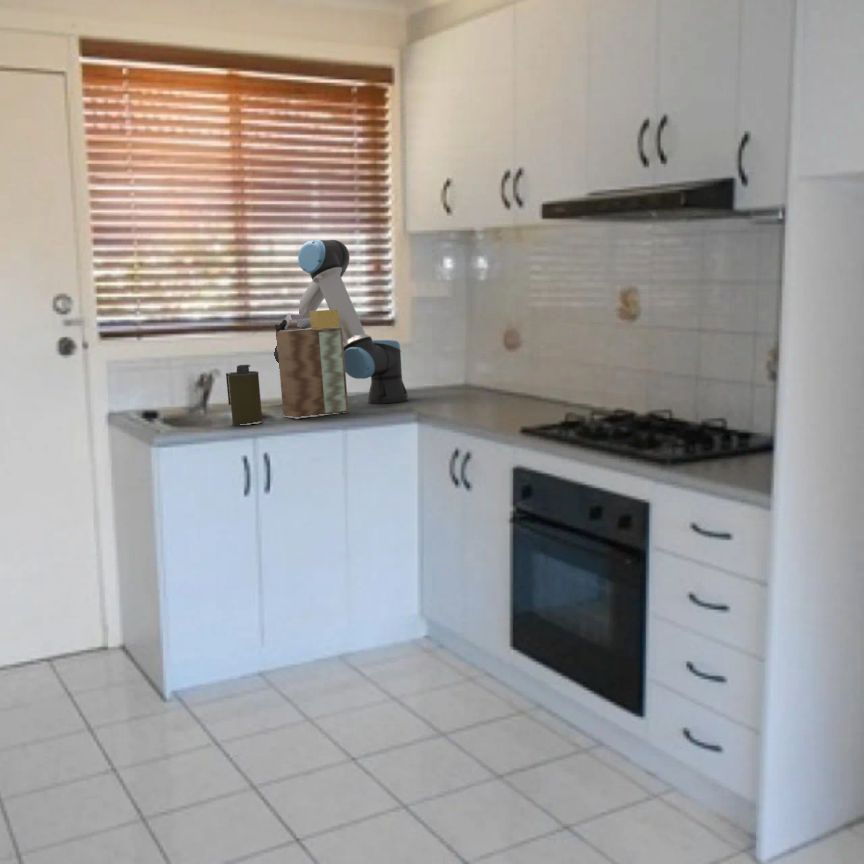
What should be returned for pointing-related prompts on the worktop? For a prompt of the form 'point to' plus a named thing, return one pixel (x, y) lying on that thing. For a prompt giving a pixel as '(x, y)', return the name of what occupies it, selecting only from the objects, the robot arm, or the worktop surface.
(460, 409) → the worktop surface
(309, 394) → the wood grain box
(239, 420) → the canister
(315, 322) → the handle bar
